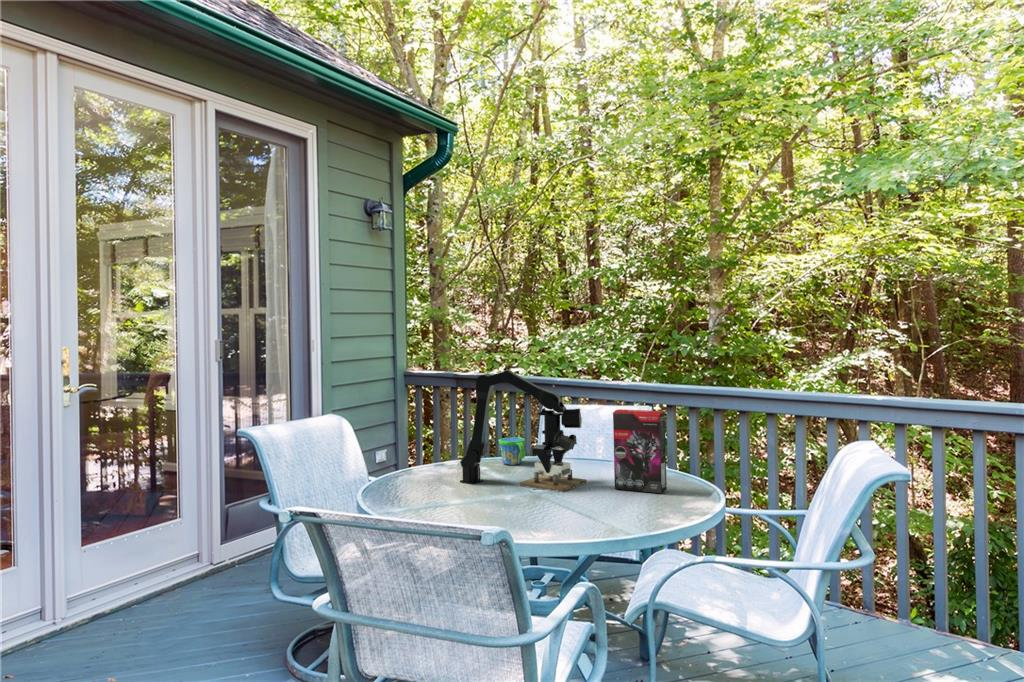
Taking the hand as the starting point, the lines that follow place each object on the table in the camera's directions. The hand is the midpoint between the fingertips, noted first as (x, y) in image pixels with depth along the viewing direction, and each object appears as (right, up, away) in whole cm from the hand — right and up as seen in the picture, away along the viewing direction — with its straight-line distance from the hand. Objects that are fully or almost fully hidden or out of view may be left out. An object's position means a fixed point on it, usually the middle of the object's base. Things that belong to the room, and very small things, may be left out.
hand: (553, 471), depth 256 cm
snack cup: (-15, -4, +38) cm, 41 cm away
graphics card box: (+29, -5, -11) cm, 32 cm away
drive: (0, -1, 0) cm, 1 cm away
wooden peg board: (0, -5, 0) cm, 5 cm away
